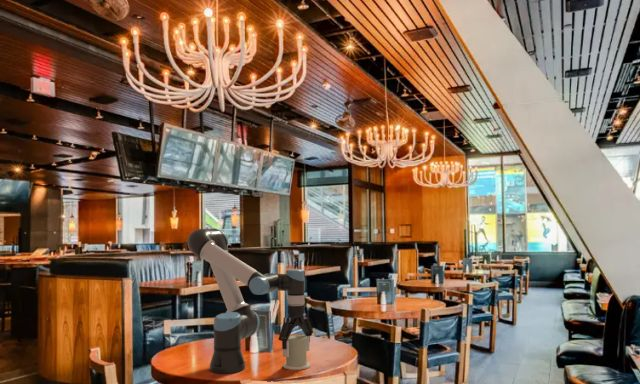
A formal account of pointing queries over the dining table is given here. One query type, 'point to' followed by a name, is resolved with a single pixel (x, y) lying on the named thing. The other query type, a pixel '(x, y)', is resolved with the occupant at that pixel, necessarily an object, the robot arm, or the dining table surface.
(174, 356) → the dining table surface
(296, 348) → the can
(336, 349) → the dining table surface
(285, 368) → the disc
